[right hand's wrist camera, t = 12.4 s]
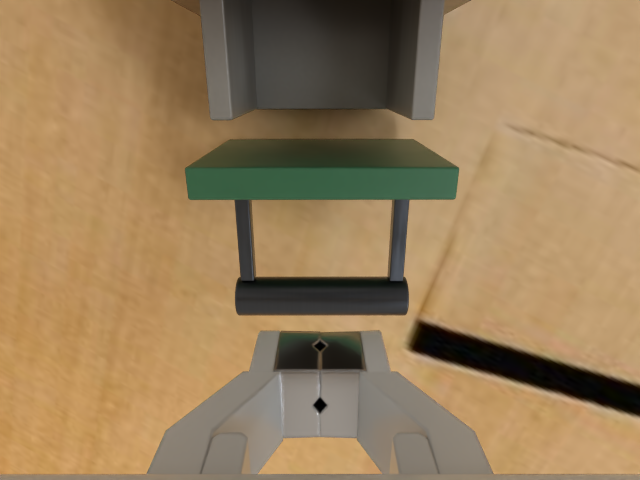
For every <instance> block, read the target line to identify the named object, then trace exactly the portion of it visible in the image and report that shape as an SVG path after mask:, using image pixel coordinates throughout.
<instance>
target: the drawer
mask: <svg viewBox="0 0 640 480" xmlns="http://www.w3.org/2000/svg"><path fill="white" fill-rule="evenodd" d="M199 3H200V14H201V25H202V36H203V46H204V57H205V68H206V79H207V90H208V101H209V111H210V118H211V120H232V119H235V118H237V117H239V116H241V115H244V114H246V113H248V112H251V111H253V110H255V109H388V110H391V111H393V112H395V113H398V114H400V115H402V116H405V117H407V118H410V119H412V120H433V119H434V112H435V101H436V90H437V80H438V69H439V58H440V47H441V36H442V25H443V15H444V4H445V0H199ZM185 174H186V182H187V191H188V198H189V199H190V200H235V211H236V224H237V236H238V249H239V262H240V275H241V277H239V278H238V280H237V283H236V290H235V306H236V312H237V314H238V315H406V314H407V311H408V305H409V291H408V284H407V280H406V278H405V277H403V274H404V261H405V248H406V235H407V222H408V209H409V200H444V199H455V198H456V192H457V183H458V175H459V167H457V166H455V165H454V164H452V163H451V162H449V161H447V160H446V159H444V158H443V157H441V156H439V155H438V154H436V153H435V152H433V151H431V150H430V149H428V148H427V147H425V146H423V145H422V144H420V143H419V142H417V141H415V140H414V139H248V140H228V141H227V142H225V143H224V144H222V145H221V146H219V147H217V148H216V149H214V150H213V151H211V152H210V153H208V154H206V155H205V156H203V157H202V158H200V159H199V160H197V161H196V162H194V163H192V164H191V165H189V166H188V167H186V168H185ZM251 200H392V213H391V229H390V245H389V261H388V277H256V267H255V251H254V235H253V219H252V203H251Z"/></svg>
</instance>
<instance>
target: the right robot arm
mask: <svg viewBox="0 0 640 480" xmlns="http://www.w3.org/2000/svg"><path fill="white" fill-rule="evenodd" d="M302 437H338V438H357V440H358V442H359V443H360V444H361V446H362V447H363V448H364V450H365V451H366V452H367V454H368V455H369V456H370V458H371V459H372V460H373V462H374V463H375V464H376V466H377V467H378V468H379V470H380V471H381V472H382V474H258V473H259V471H260V470H261V469H262V467H263V466H264V465H265V463H266V462H267V461H268V459H269V458H270V457H271V455H272V454H273V453H274V451H275V450H276V449H277V447H278V446H279V445H280V444H281V442H282V441H283V438H302ZM0 480H640V474H493V472H492V469H491V467H490V465H489V463H488V460H487V458H486V456H485V454H484V451H483V449H482V447H481V445H480V442H479V440H478V438H477V435H476V433H475V431H474V430H472V429H471V428H470V427H468V426H467V425H466V424H464V423H463V422H462V421H461V420H459V419H458V418H457V417H455V416H454V415H453V414H451V413H450V412H449V411H448V410H446V409H445V408H444V407H442V406H441V405H440V404H438V403H437V402H436V401H435V400H433V399H432V398H431V397H429V396H428V395H427V394H425V393H424V392H423V391H421V390H420V389H419V388H418V387H416V386H415V385H414V384H412V383H411V382H410V381H408V380H407V379H406V378H405V377H403V376H402V375H401V374H399V373H398V372H391V370H390V366H389V362H388V358H387V354H386V350H385V346H384V342H383V338H382V334H381V332H380V331H355V332H311V331H281V332H280V331H260V332H259V333H258V337H257V341H256V345H255V349H254V353H253V357H252V361H251V366H250V370H249V372H242V373H241V374H239V375H238V376H237V377H235V378H234V379H233V380H232V381H230V382H229V383H228V384H226V385H225V386H224V387H222V388H221V389H220V390H218V391H217V392H216V393H215V394H213V395H212V396H211V397H209V398H208V399H207V400H205V401H204V402H203V403H201V404H200V405H199V406H198V407H196V408H195V409H194V410H192V411H191V412H190V413H188V414H187V415H186V416H184V417H183V418H182V419H181V420H179V421H178V422H177V423H175V424H174V425H173V426H171V427H170V428H169V429H167V430H166V432H165V434H164V436H163V438H162V440H161V443H160V445H159V447H158V449H157V452H156V454H155V456H154V458H153V461H152V463H151V465H150V467H149V469H148V472H147V474H0Z"/></svg>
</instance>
